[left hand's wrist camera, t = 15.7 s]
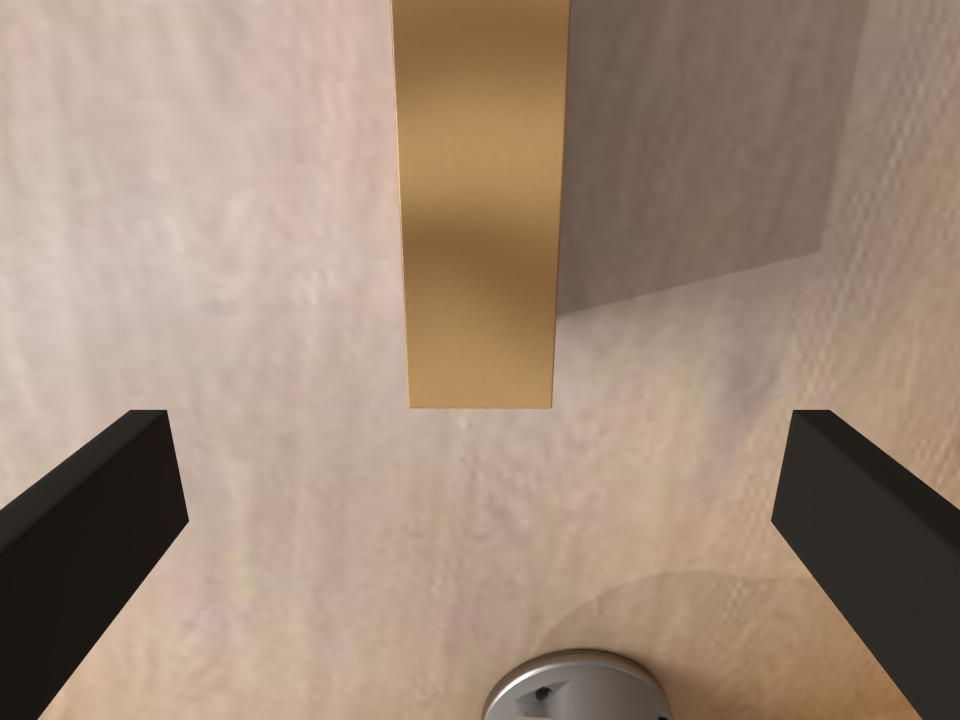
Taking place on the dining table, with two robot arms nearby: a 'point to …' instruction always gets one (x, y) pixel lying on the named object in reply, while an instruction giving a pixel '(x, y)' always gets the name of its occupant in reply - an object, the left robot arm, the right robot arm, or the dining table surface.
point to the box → (480, 196)
